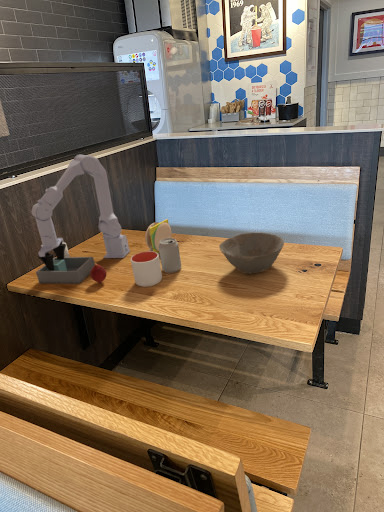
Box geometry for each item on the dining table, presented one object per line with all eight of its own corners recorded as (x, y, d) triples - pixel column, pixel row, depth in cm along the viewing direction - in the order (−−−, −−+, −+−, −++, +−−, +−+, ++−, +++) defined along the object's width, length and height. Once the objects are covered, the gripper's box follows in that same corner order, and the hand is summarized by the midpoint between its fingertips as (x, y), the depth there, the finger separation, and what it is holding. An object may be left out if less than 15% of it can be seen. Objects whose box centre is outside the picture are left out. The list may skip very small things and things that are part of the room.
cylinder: (71, 256, 176) (68, 242, 173) (66, 261, 171) (62, 246, 168) (62, 256, 177) (58, 242, 174) (56, 261, 172) (52, 246, 170)
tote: (95, 267, 161) (93, 256, 159) (79, 283, 149) (76, 271, 147) (57, 268, 165) (54, 257, 163) (39, 283, 153) (35, 271, 151)
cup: (141, 291, 138) (136, 265, 134) (131, 280, 146) (126, 256, 142) (166, 282, 141) (162, 257, 137) (156, 272, 150) (152, 248, 146)
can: (179, 273, 147) (174, 243, 142) (160, 273, 148) (155, 244, 144) (183, 265, 153) (179, 236, 149) (165, 265, 155) (160, 237, 150)
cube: (67, 270, 159) (64, 259, 157) (60, 276, 155) (57, 265, 153) (56, 270, 161) (53, 259, 159) (49, 276, 156) (46, 265, 154)
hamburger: (160, 243, 178) (156, 218, 173) (175, 245, 174) (172, 219, 169) (144, 253, 169) (139, 227, 164) (159, 256, 165) (154, 229, 160)
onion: (111, 279, 149) (106, 260, 146) (103, 286, 144) (98, 267, 141) (97, 278, 151) (93, 259, 148) (89, 285, 146) (84, 266, 143)
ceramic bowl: (296, 263, 143) (296, 237, 139) (261, 289, 129) (259, 262, 125) (246, 252, 158) (245, 228, 154) (209, 274, 143) (207, 249, 139)
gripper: (48, 227, 158) (57, 258, 164) (27, 241, 146) (37, 274, 151) (64, 227, 157) (72, 258, 162) (44, 241, 144) (53, 274, 149)
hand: (56, 266), depth 156 cm, fingers open, 7 cm apart
